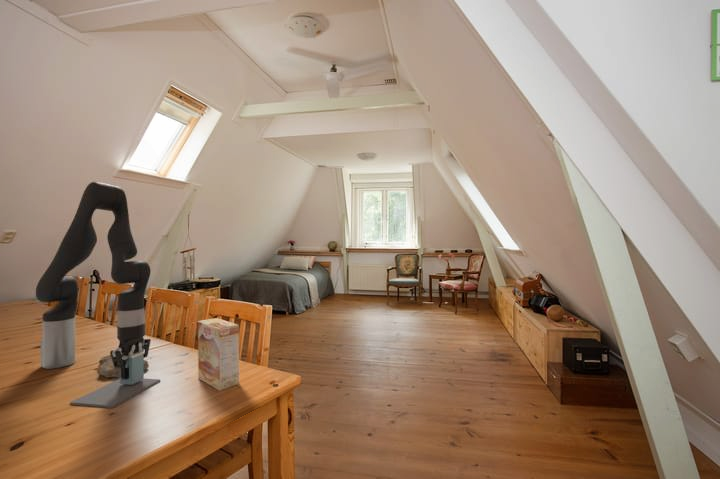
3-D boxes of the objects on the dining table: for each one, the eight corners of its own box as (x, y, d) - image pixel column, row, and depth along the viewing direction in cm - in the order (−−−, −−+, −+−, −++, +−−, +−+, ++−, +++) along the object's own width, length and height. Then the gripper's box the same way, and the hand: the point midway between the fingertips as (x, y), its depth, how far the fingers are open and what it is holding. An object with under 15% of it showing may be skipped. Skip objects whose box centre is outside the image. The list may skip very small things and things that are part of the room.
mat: (70, 404, 97) (70, 402, 97) (123, 378, 115) (123, 377, 115) (112, 408, 95) (112, 405, 95) (160, 381, 113) (160, 379, 113)
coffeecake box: (197, 378, 115) (197, 321, 115) (217, 372, 120) (217, 317, 120) (218, 391, 105) (218, 328, 105) (239, 384, 111) (239, 324, 111)
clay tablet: (93, 366, 127) (101, 381, 113) (93, 353, 127) (101, 366, 113) (137, 358, 137) (149, 371, 123) (137, 346, 137) (150, 357, 123)
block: (119, 383, 108) (119, 355, 108) (131, 378, 113) (131, 350, 113) (132, 384, 107) (132, 356, 107) (143, 378, 112) (143, 351, 112)
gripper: (138, 317, 118) (139, 367, 118) (101, 328, 104) (101, 384, 104) (158, 318, 116) (158, 368, 117) (123, 329, 102) (123, 386, 102)
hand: (131, 375), depth 110 cm, fingers closed on block, 4 cm apart
